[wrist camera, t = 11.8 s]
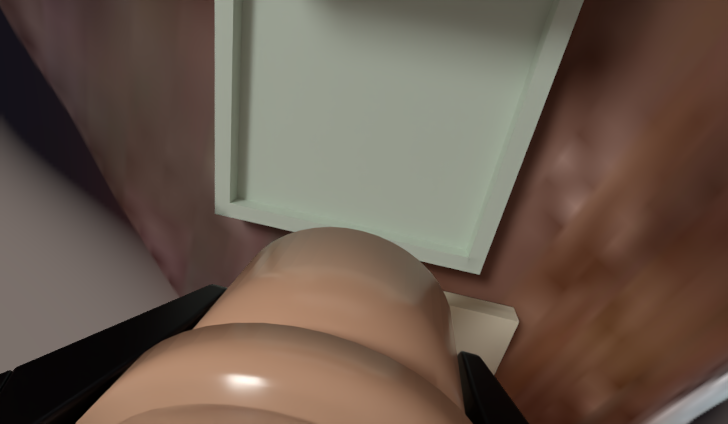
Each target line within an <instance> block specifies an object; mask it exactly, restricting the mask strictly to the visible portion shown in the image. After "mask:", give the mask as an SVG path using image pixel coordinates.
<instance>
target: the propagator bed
mask: <svg viewBox="0 0 728 424" xmlns="http://www.w3.org/2000/svg"><path fill="white" fill-rule="evenodd" d="M583 1H584V0H215V214H219V215H223V216H227V217H232V218H236V219H240V220H245V221H249V222H253V223H258V224H262V225H266V226H271V227H275V228H279V229H284V230H288V231H292V232H297V231H300V230H305V229H311V228H318V227H340V228H350V229H355V230H360V231H364V232H367V233H371V234H374V235H377V236H380V237H382V238H384V239H386V240H388V241H391V242H393V243H395V244H396V245H398V246H400V247H401V248H403V249H405V250H406V251H408V252H409V253H410V254H412V255H413V256H414V257H415V258H417V259H418V260H419V261H422V262H426V263H431V264H435V265H439V266H444V267H448V268H452V269H457V270H461V271H465V272H470V273H474V274H478V275H480V272H481V270H482V267H483V264H484V262H485V259H486V256H487V254H488V251H489V248H490V246H491V243H492V241H493V238H494V235H495V233H496V230H497V227H498V225H499V222H500V220H501V217H502V214H503V212H504V209H505V206H506V204H507V201H508V199H509V196H510V193H511V191H512V188H513V185H514V183H515V180H516V178H517V175H518V172H519V170H520V167H521V164H522V162H523V159H524V156H525V154H526V151H527V149H528V146H529V143H530V141H531V138H532V135H533V133H534V130H535V128H536V125H537V122H538V120H539V117H540V114H541V112H542V109H543V107H544V104H545V101H546V99H547V96H548V93H549V91H550V88H551V85H552V83H553V80H554V78H555V75H556V72H557V70H558V67H559V64H560V62H561V59H562V57H563V54H564V51H565V49H566V46H567V43H568V41H569V38H570V36H571V33H572V30H573V28H574V25H575V22H576V20H577V17H578V15H579V12H580V9H581V7H582V4H583Z"/></svg>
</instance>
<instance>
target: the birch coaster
mask: <svg viewBox="0 0 728 424" xmlns="http://www.w3.org/2000/svg"><path fill="white" fill-rule="evenodd" d="M443 292H444V294H445V296H446V298H447V301H448V304H449V306H450V311H451V316H452V322H453V329H454V336H455V343H456V350H457V355H458V353H459V352H461V351H465V352H469V353H473V354H476V355H478V356H480V357H481V358H482V360H483V361H484V362H485V364H486V365H487V367H488V368H489V369H490V371H491V372H492V373H493V375H495V373H496V370H497V368H498V366H499V364H500V362H501V360H502V358H503V356H504V353H505V351H506V349H507V347H508V345H509V343H510V341H511V339H512V336H513V334H514V332H515V330H516V328H517V326H518V324H519V320H518V317H517V315H516V312H515V310H514V308H513V307H509V306H505V305H501V304H496V303H492V302H488V301H484V300H479V299H475V298H471V297H467V296H462V295H458V294H454V293H450V292H445V291H443Z"/></svg>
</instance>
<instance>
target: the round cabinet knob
mask: <svg viewBox="0 0 728 424" xmlns="http://www.w3.org/2000/svg"><path fill="white" fill-rule="evenodd" d="M76 424H473V423H472V422H471V421H470V419H469V418H468V417H467V416H466V415H465V408H464V401H463V393H462V386H461V379H460V372H459V365H458V358H457V350H456V343H455V336H454V329H453V322H452V316H451V311H450V306H449V304H448V301H447V298H446V296H445V294H444V292H443V290H442V288H441V286H440V285H439V283H438V281H437V280H436V279H435V277H434V276H433V275H432V273H431V272H430V271H429V270H428V269H427V268H426V267H425V266H424V265H423V264H422V263H421V262H420V261H419V260H418V259H417V258H415V257H414V256H413V255H412V254H410V253H409V252H408V251H406V250H405V249H403V248H401V247H400V246H398V245H396V244H395V243H393V242H391V241H388V240H386V239H384V238H382V237H380V236H377V235H374V234H371V233H367V232H364V231H360V230H355V229H350V228H340V227H318V228H311V229H305V230H300V231H297V232H294V233H291V234H287V235H285V236H283V237H281V238H279V239H277V240H275V241H273V242H272V243H271V244H269V245H268V246H266V247H265V248H263V249H262V250H261V251H260V252H259V253H258V254H257V255H256V256H255V257H254V258H253V259H252V261H251V262H250V263H249V264H248V265H247V266H246V268H245V269H244V270H243V271H242V272H241V273H240V275H239V276H238V277H237V278H236V279H235V280H234V282H233V283H232V284H231V285H230V286H229V287H228V289H227V290H226V291H225V292H224V293H223V294H222V296H221V297H220V298H219V299H218V300H217V301H216V303H215V304H214V305H213V306H212V307H211V308H210V310H209V311H208V312H207V313H206V314H205V315H204V317H203V318H202V319H201V320H200V321H199V322H198V323H197V325H196V326H195V327H194V328H193V329H192V330H189V331H185V332H182V333H179V334H177V335H175V336H172V337H170V338H168V339H165V340H163V341H161V342H159V343H158V344H156V345H155V346H153V347H152V348H150V349H149V350H147V351H146V352H144V353H143V354H142V355H141V356H140V357H139V358H138V359H137V360H136V361H135V362H134V363H133V364H132V365H131V366H130V367H129V368H128V369H127V370H126V371H125V372H124V373H123V374H122V375H121V376H120V377H119V378H118V379H117V380H116V381H115V383H114V384H113V385H112V386H111V387H110V388H109V389H108V390H107V391H106V392H105V393H104V394H103V395H102V396H101V397H100V398H99V399H98V400H97V401H96V402H95V403H94V404H93V405H92V406H91V408H90V409H89V410H88V411H87V412H86V413H85V414H84V415H83V416H82V417H81V418H80V419H79V420H78V421H77V422H76Z"/></svg>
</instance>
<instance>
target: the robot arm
mask: <svg viewBox="0 0 728 424" xmlns="http://www.w3.org/2000/svg"><path fill="white" fill-rule="evenodd" d="M227 289H228V288H226V287H222V286H218V285H214V284H212V285H208V286H206V287H203V288H201V289H199V290H196V291H194V292H192V293H189V294H187V295H185V296H182V297H180V298H178V299H175V300H173V301H171V302H168V303H166V304H163V305H161V306H159V307H156V308H154V309H152V310H150V311H147V312H145V313H142V314H140V315H138V316H135V317H133V318H131V319H128V320H126V321H124V322H121V323H119V324H117V325H114V326H112V327H110V328H107V329H105V330H103V331H100V332H98V333H95V334H93V335H91V336H88V337H86V338H84V339H81V340H79V341H77V342H74V343H72V344H70V345H68V346H65V347H63V348H60V349H58V350H56V351H53V352H51V353H49V354H46V355H44V356H42V357H39V358H37V359H35V360H32V361H30V362H27V363H25V364H23V365H20V366H18V367H16V368H15V369H14V370H13V371H10V370H9V371H6V372H4V373H1V374H0V424H76V422H77V421H78V420H79V419H80V418H81V417H82V416H83V415H84V414H85V413H86V412H87V411H88V410H89V409H90V408H91V406H92V405H93V404H94V403H95V402H96V401H97V400H98V399H99V398H100V397H101V396H102V395H103V394H104V393H105V392H106V391H107V390H108V389H109V388H110V387H111V386H112V385H113V384H114V383H115V381H116V380H117V379H118V378H119V377H120V376H121V375H122V374H123V373H124V372H125V371H126V370H127V369H128V368H129V367H130V366H131V365H132V364H133V363H134V362H135V361H136V360H137V359H138V358H139V357H140V356H141V355H142V354H143V353H144V352H146V351H147V350H149V349H150V348H152V347H153V346H155V345H156V344H158V343H159V342H161V341H163V340H165V339H168V338H170V337H172V336H175V335H177V334H179V333H182V332H185V331H189V330H192V329H193V328H194V327H195V326H196V325H197V323H198V322H199V321H200V320H201V319H202V318H203V317H204V315H205V314H206V313H207V312H208V311H209V310H210V308H211V307H212V306H213V305H214V304H215V303H216V301H217V300H218V299H219V298H220V297H221V296H222V294H223V293H224V292H225V291H226V290H227ZM457 358H458V365H459V372H460V379H461V386H462V393H463V401H464V408H465V415H466V416H467V417H468V418H469V419H470V421H471V422H472V423H473V424H529V423H528V422H527V420H526V419H525V417H524V416H523V415H522V413H521V412H520V411H519V409H518V408H517V406H516V405H515V404H514V402H513V401H512V400H511V398H510V397H509V395H508V394H507V393H506V391H505V390H504V389H503V387H502V386H501V384H500V383H499V382H498V380H497V379H496V378H495V376H494V375H493V373H492V372H491V371H490V369H489V368H488V367H487V365H486V364H485V362H484V361H483V360H482V358H481V357H480V356H478V355H476V354H473V353H469V352H465V351H461V352H459V353H458V355H457Z"/></svg>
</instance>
